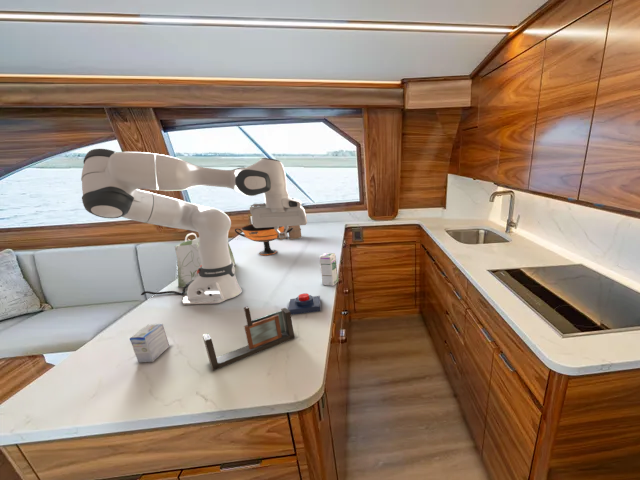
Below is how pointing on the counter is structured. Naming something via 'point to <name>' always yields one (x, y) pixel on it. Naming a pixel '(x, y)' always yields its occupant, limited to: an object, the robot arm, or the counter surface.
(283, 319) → the window frame
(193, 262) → the grocery bag
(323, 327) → the counter surface
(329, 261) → the syrup box
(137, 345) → the medicine box
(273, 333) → the sash
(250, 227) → the cup
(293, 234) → the binoculars
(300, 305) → the button box
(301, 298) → the button
